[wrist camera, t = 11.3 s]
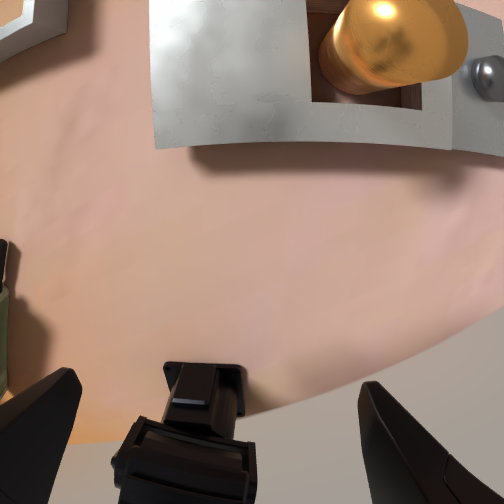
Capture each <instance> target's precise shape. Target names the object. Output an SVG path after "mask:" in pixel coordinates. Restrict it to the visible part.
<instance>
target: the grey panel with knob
mask: <svg viewBox="0 0 504 504" xmlns="http://www.w3.org/2000/svg"><path fill="white" fill-rule="evenodd" d="M349 1H350V0H150V70H151V92H152V110H153V124H154V137H155V149H156V150H157V149H166V148H176V147H187V146H199V145H212V144H228V143H249V142H288V141H316V142H355V143H375V144H391V145H404V146H415V147H425V148H435V149H444V150H452V149H457V150H464V151H471V152H477V153H484V154H490V155H496V156H501V157H504V34H503V27H502V21H501V20H500V19H498V18H495V17H493V16H491V15H488V14H486V13H483V12H480V11H478V10H475V9H472V8H470V7H467V6H464V5H461V4H458V3H455V4H456V5H457V7H458V8H459V10H460V12H461V14H462V16H463V18H464V21H465V24H466V27H467V32H468V41H469V42H468V51H467V55H466V58H465V61H464V62H463V64H462V66H461V67H460V68H459V69H458V70H457V71H456V72H455V73H454V74H452V75H450V76H449V77H446V78H444V79H439V80H434V81H428V82H422V83H416V84H411V85H405V86H401V108H397V107H387V106H377V105H364V104H348V103H325V102H312V99H311V75H310V56H309V40H308V26H307V13H306V12H308V13H328V14H341V13H342V11H343V10H344V9H345V7H346V6H347V4H348V3H349Z"/></svg>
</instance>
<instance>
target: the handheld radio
mask: <svg viewBox="0 0 504 504" xmlns="http://www.w3.org/2000/svg"><path fill="white" fill-rule="evenodd" d="M7 246H8V243H7V241H5V240H4V239H0V400H1V399H2V397H3V396H4V394H5V393H6V391H7V390H8V387H7V322H8V306H9V290H8V289H7V287H5V286H4V285H3V282H2V280H3V275H4V267H5V259H6V252H7Z"/></svg>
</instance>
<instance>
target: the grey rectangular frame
mask: <svg viewBox="0 0 504 504" xmlns="http://www.w3.org/2000/svg"><path fill="white" fill-rule="evenodd" d="M68 4H69V0H24V5H23V14H22V16H20V17H18V18H16V19H15V20H13V21H11V22H9V23H8V24H6V25H4V26H3V27H1V28H0V63H1V62H3V61H5V60H7V59H8V58H10V57H12V56H14V55H16V54H18V53H20V52H22V51H24V50H26V49H28V48H31V47H33V46H35V45H37V44H39V43H42V42H44V41H46V40H48V39H51V38H53V37H56V36H58V35H60V34H63V33H66V32H67V17H68Z"/></svg>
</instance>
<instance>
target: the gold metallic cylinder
mask: <svg viewBox="0 0 504 504" xmlns="http://www.w3.org/2000/svg"><path fill="white" fill-rule="evenodd" d="M468 42H469V41H468V32H467V27H466V24H465V21H464V18H463V16H462V14H461V12H460V10H459V8H458V7H457V5H456V4H455V2H454V1H453V0H350V1H349V3H348V4H347V6H346V7H345V9H344V10H343V11H342V13H341V14H340V16H339V17H338V19H337V20H336V22H335V23H334V24H333V26H332V27H331V29H330V30H329V32H328V33H327V35H326V36H325V38H324V39H323V41H322V42H321V44H320V47H319V52H318V60H319V65H320V68H321V70H322V72H323V74H324V76H325V77H326V78H327V80H328V81H329V82H330V83H331V84H332V85H334V86H335V87H336V88H338V89H340V90H342V91H344V92H346V93H350V94H357V95H361V94H367V93H372V92H376V91H381V90H385V89H390V88H395V87H400V86H405V85H411V84H416V83H422V82H428V81H434V80H439V79H444V78H446V77H449V76H450V75H452V74H454V73H455V72H456V71H457V70H458V69H459V68H460V67H461V66H462V64H463V62H464V61H465V58H466V55H467V51H468Z"/></svg>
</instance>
